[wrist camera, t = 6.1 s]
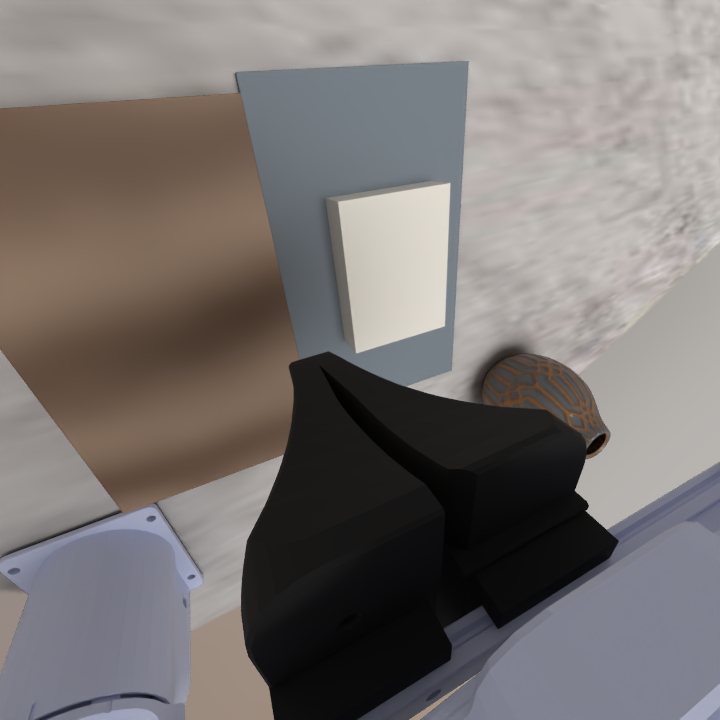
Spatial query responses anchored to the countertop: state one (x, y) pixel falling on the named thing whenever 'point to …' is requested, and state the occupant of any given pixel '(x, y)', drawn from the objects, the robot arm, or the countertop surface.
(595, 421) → the vase
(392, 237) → the tile
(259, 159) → the mat
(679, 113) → the countertop surface
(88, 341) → the block
